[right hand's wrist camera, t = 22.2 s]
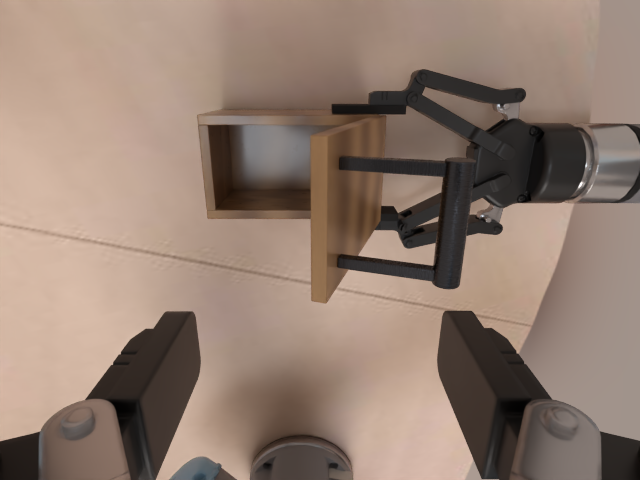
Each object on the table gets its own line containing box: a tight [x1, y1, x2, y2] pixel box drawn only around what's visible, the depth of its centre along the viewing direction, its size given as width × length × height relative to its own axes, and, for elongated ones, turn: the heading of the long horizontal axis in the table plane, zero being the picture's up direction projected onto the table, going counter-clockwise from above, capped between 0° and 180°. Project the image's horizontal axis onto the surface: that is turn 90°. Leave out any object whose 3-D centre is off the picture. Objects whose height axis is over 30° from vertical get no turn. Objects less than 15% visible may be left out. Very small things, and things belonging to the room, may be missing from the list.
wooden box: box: [197, 110, 380, 219], centre depth 40 cm, size 16×9×9 cm, turn 90°
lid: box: [310, 115, 476, 303], centre depth 27 cm, size 16×9×8 cm
